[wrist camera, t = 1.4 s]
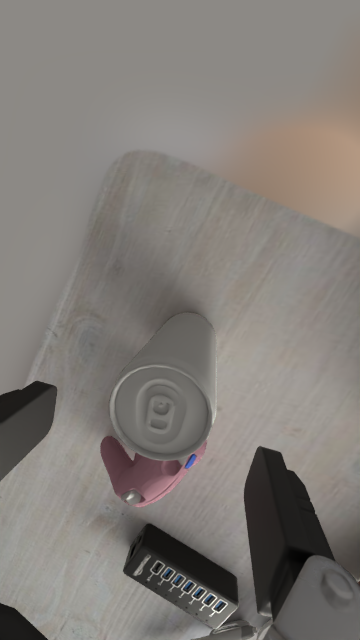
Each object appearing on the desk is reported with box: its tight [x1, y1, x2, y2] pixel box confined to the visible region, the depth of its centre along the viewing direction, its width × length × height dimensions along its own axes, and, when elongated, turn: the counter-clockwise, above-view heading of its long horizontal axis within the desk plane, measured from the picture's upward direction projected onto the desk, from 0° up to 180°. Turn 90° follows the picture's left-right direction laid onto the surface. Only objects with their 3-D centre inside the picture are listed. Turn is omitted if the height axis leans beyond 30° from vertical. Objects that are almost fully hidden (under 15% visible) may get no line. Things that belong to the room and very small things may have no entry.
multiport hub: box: [123, 524, 239, 629], centre depth 27 cm, size 4×11×2 cm, turn 60°
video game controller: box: [100, 436, 207, 507], centre depth 23 cm, size 10×5×7 cm, turn 138°
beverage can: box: [109, 313, 217, 461], centre depth 17 cm, size 5×5×12 cm
